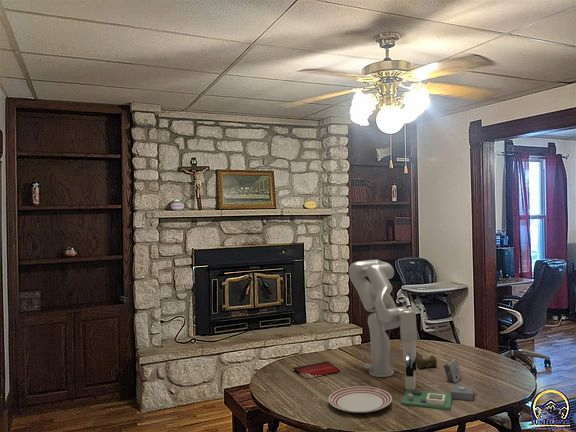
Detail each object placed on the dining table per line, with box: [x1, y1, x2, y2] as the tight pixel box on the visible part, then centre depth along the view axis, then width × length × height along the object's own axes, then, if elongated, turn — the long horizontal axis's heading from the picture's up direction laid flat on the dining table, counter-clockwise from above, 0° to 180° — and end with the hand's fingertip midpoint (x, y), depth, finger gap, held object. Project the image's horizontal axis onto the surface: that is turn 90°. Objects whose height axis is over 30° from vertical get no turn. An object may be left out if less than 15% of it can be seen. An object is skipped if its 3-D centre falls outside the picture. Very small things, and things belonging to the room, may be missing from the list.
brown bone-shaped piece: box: [415, 351, 438, 370], centre depth 261 cm, size 6×10×20 cm
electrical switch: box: [443, 358, 463, 384], centre depth 238 cm, size 9×5×9 cm, turn 141°
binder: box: [292, 361, 341, 376], centre depth 259 cm, size 16×2×21 cm
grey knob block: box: [450, 384, 474, 402], centre depth 217 cm, size 9×9×4 cm
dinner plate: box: [328, 385, 393, 414], centre depth 213 cm, size 28×27×3 cm
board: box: [400, 389, 453, 411], centre depth 214 cm, size 20×16×3 cm
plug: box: [404, 370, 417, 390], centre depth 230 cm, size 4×4×8 cm
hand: (411, 373), depth 229 cm, fingers open, 9 cm apart
